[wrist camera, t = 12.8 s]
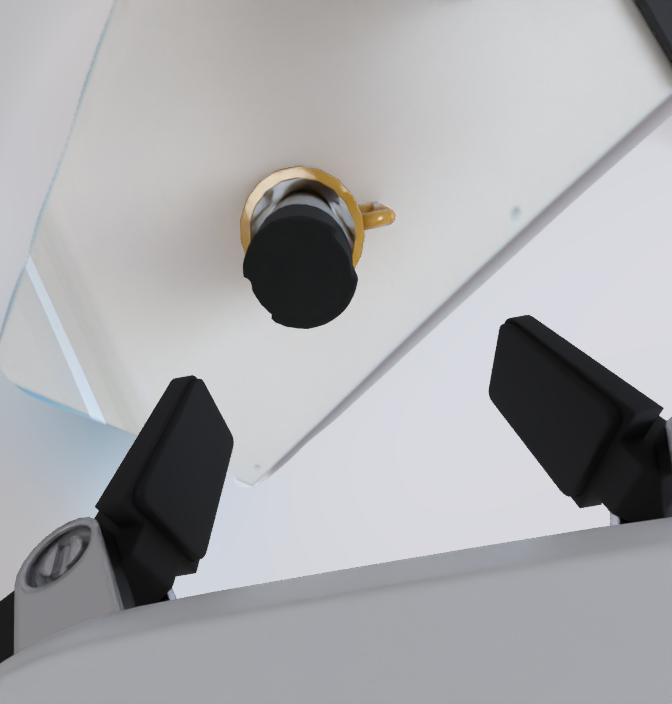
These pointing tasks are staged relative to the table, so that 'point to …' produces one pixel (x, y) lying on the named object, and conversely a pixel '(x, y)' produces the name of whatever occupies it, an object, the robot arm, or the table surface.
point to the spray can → (301, 262)
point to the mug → (329, 188)
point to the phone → (659, 20)
